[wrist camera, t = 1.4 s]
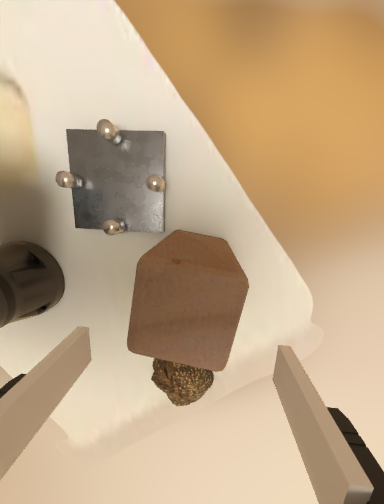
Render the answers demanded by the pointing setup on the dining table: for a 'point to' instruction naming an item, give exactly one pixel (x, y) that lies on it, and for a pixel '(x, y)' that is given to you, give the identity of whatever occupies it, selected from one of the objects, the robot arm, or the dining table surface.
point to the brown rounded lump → (181, 381)
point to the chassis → (116, 178)
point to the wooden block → (187, 301)
